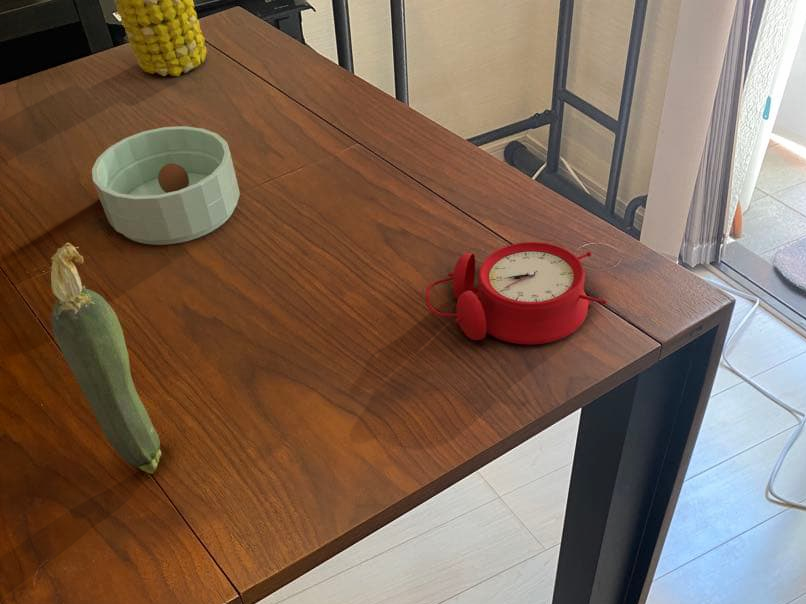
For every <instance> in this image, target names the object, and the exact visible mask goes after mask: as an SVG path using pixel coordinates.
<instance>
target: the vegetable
mask: <svg viewBox="0 0 806 604" xmlns="http://www.w3.org/2000/svg"><path fill="white" fill-rule="evenodd" d="M77 249H80V248H79V246H77V247H76V246H74V245H72V243H71V242H66V243H64V245H62V247H60V248H57V251H56V252H55V253H54V254H53V256H52V257H50V259H51V263H52V264H51V267H50V268H51V272H50V281H51V283H50V287H51V292H52V294H53V295H54V296H55V297H56V298H57V299H56V301H55V303H54V305H53V307H52V311H51V314H50V326H51V329H52V333H53V335H54V338H55V340H56V343H57V345H58V348H59V350H60V352H61V353H62V356H63V358H64V360H65V363H66V364H67V366H68V367H69V369H70V371H71V372H72V374H73V376H74V378H75V379H76V381H77V384H78V386H79V388H80V389H81V392H82V394H83V395H84V398H85V399H86V401H87V402H88V404H89V406H90V408H91V410H92V412H93V414H94V416H95V419H96V421H97V423H98V425H99V427H100V430H101V431H102V433H103V435H104V436H105V438H106V439H107V441H108V442H109V443H110V444H111V446H112V447H113V449H114V450H115V451H116V452H117V454H118V455H119V457H120V458H121V459H122V460H123V461H124V462H126V463H127V464H128V465H130V466H132V467H136V468H139V469H140V470H141V471H143V472H145V473H148V474H154V472H156V470H157V467H158V464H159V462H160V458H161V456H162V451H161V449H160V447H161V441H160V437H159V433H157V430H156V429H155V427H154V425H153V422H152V420H151V417H150V416H149V414H148V412H147V409H146V407H145V404H144V403H143V401H142V400H141V398H140V397H139V394H138V392H137V389H136V387H135V384H134V380H133V378H132V374H131V367H130V355H129V352H128V348H127V344H126V340H125V336H124V332H123V329H122V325H121V323H120V321H119V318H118V315H117V314H116V312H115V311H114V309H113V308H112V307H111V305H110V304H109V303H108V302H107V300H106V299H105V298H104V297H103V296H102V295H101V294H99V293H98V292H97V291H96V292H95V291H94V290H91V289H88V288H86V286H85V284H84V285H82V283H83V282H82V280H81V277H80V275H79V272H78V269H77V267H76V265H75V264H74V263H73V260H74V261H75V262H76V263H79V264H83V263H84V262H85V260H84V257H83V255H81V254H80V253H79V252H78V251H77Z"/></svg>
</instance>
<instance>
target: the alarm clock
mask: <svg viewBox="0 0 806 604" xmlns="http://www.w3.org/2000/svg"><path fill="white" fill-rule="evenodd" d="M591 256H592V252H591V250H588V251H587V252H586V253H584V254H582V255H579V256H576V254H574V253H572V252H571V251H569V250H568V249H566V248H564V247H562V246H559V245H555V244H552V243H548V242H541V241H526V242H525V241H524V242H518V243H513V244H509V245H506V246H503V247H501V248H499V249H497V250H494V252H492V253H491V254H489V255H488V256H487V257H486V259H485V260H484V261H483V262H482V264H481V266H480V268H479V272H478V275H477V278H478V287H474V284H475V276H476V257H475V253H473V252H466V253H464V254H462V255H461V256H460V257H459V258H458V259H457V261H456V264H455V267H454V270H453V272H449V273H448V277H445V278H442V279H439V280H435V281H434V282H432V283H431V284H430V285H429V286H428V288H427V289H426V293H425V302H426V305H427V308H428V309H429V311H430V312H431V313H432V314H434V315H436V316H439V317H444V318H445V317H446V318H447V317H449V318H450V317H452V318H455V319H454V322H455V323H458V325H459V326H460V329H461V331H462V332H463V333H464V334H465V336H466V337H467V338H468V339H469V340H471V341H480V340H483V339H485V338H486V335H487V334H488V335H490V336H492V337H493V338H496V339H498V340H500V341H504V342H507V343H510V344H511V343H512V344H520V345H543V344H547V343H553V342H555V341H559V340H561V339H563V338H566V337H567V336H570V335H572V334H573V333H574V332H575V331H577V330H578V329H579V328H580V327H581V326H582V325H583V323H584V322H585V320H586V318H587V316H588V311H589V307H590V309H591V307H592V304H591V302H597V303H601V305H603V306H604V305H606V304H607V300H606V298H605V299H604V298H603V299H599V298H594V297H593V296H589V295H587V294H586V292H585V290H584V285H585V280H586V276H585V275H586V274H585V270H584V267H583V264H582V261H581V260H582V259H584V258H586V257H591ZM450 281H452V290H453V294H454V297H455V298H456V299H457V302H456V308H455V309H456V310H455V311H456V313H442V312H438V311H437V310H435V309H434V308H433V307H432V306H431V302H430V292H431V290H432V288H433V287H435V286H436V285H439V284H441V283H445V282H450ZM474 292H475V293H474Z"/></svg>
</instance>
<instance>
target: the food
mask: <svg viewBox="0 0 806 604" xmlns="http://www.w3.org/2000/svg"><path fill="white" fill-rule="evenodd" d="M113 3H114V4H115V5H116V6H115V8H116V10H117V13H118V15H119V16H120V22H121V25H122V27H123V28H124V30H125V34H126V36H127V37H128V38H127V39H128V42H129V44H130V46H131V49H132V51H133V52H134V53H133V55H134V58H135V59H136V60H137V61H136V63H137V64H138V66H139V67H140V68H141V70H142V71H143V72H144V73H149V74H151V75H155V74H156V73H157V74H158V75H160V76H163V77H166V76H167V75H170V76H171V77H179V76H180V75H181V74H182V72H183V74H186V73H188V72H190V71H191V70H193V69H195V68H197V67H199V66H200V65H201V63H204V61H205V60H206V56H207V53H208V51H207V47H206V46H205V41H206V38H205V37H204V36H203V34H202V30H201V26H200V20H198V14H197V12H196V10H195V3H194V0H113Z"/></svg>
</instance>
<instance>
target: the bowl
mask: <svg viewBox="0 0 806 604" xmlns="http://www.w3.org/2000/svg"><path fill="white" fill-rule="evenodd" d="M171 163H173V164H177V165H180V166H181V167H182V168H184V170H185V171H186V172H187V174H188V177H189V185H188V187H186V188H183V189H181V190H178V191H174V192H169V193H166V192H164V191H163V190H162V188H161V187H160V185H159V181H158V175H159V171H160V170H161V168H162V167H163V166H165V165H167V164H171ZM91 178H92V182H93V185H94V189H95V190H96V193H97V195H98V198H99V201H100V203H101V206H102V209H103V211H104V215H105V217H106V219H107V221H108V224H110V226H111V227H112V228H113V229H114V230H115V231H116V232H117V233H119V234H121V235H123V236H124V237H125V238H127V239H129V240H131V241H133V242H137V243H140V244H144V245H154V246H155V245H156V246H162V245H163V246H164V245H165V246H166V245H175V244H180V243H186V242H190V241H192V240H195V239H199V238H201V237H203V236H206V235H208V234H210V233H212V232H214V231H215V230H216V229H218V228H220V227H221V226H222V225H224V224H225V223H226V222H227V221H228V220H229V219H230V218H231V216H232V214H233V213H234V211H235V209H236V208H237V205H238V202H239V200H240V199H239V198H240V196H241V193H240V188H239V184H238V179H237V176H236V170H235V167H234V163H233V159H232V154H231V151H230V147H229V144H228V141H226V140H225V139H224V138H223V137H222V136H221V135H220V134H218V133H216V132H214V131H211V130H209V129H205V128H201V127H194V126H186V125H184V126H183V125H182V126H181V125H179V126H165V127H163V126H162V127H159V128H153V129H149V130H144V131H141V132H138V133H135V134H132V135H130V136H127V137H125V138H123V139H122V140H120V141H118V142H116V143H113V144H112V145H111V146H109V147H108V148H107V149H105V150H104V151H103V152H102V153H101V154H100V155H99V156H97V158H96V160H95V162H94V163H93V166H92V168H91Z"/></svg>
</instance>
